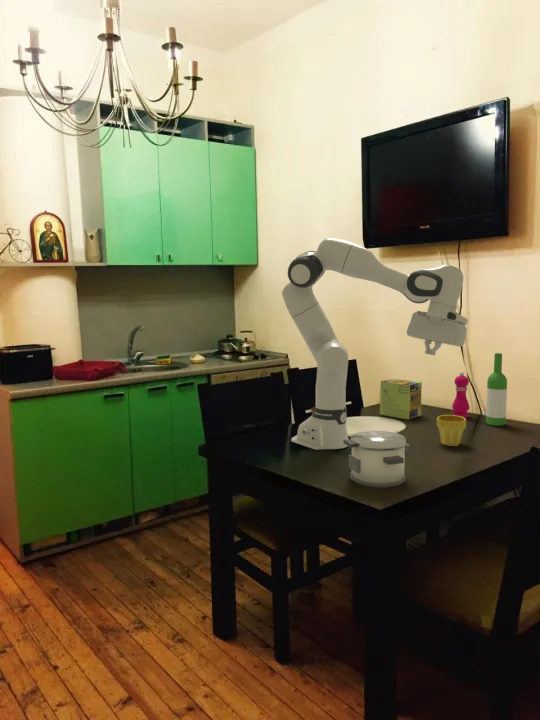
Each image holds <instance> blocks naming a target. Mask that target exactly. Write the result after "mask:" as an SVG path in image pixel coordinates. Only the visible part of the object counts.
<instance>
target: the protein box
mask: <svg viewBox="0 0 540 720" xmlns="http://www.w3.org/2000/svg"><path fill="white" fill-rule="evenodd" d="M422 383H423V382H422V381H418V380H417V381H415V380H414V381H413V380H408V379H400V378H399V379H398V378H391V379H385V380H381V381H380V392H379V393H380V396H379V397H380V398H379V400H380V401H379V402H380V403H379V415H380V416H387V417H392V418H397V419H404V420H411V419H412V420H413V419H415V418H417V417H421V416H422V386H423V385H422Z"/></svg>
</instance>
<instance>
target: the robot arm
mask: <svg viewBox="0 0 540 720" xmlns="http://www.w3.org/2000/svg"><path fill="white" fill-rule="evenodd" d="M326 271H333V272H336V273H339V274H342V275H344V276H346V277H350V278H353V279H354V278H355V279H358V280H359V279H360V280H365V281H368V282H369V281H370V282H373V283H377V284H379V285H382V286H385V287H387V288H390V289H392V290H395V291H398V292H400V293H401V294H402V295H403V296H404V297H405V298H406V299H407V300H408V301H410V302H412V303H414V304H425V303H427V302H428V301H429V305H428V308H427V311H421V310H416V311H414V312H413V313H412V315H411V318H410V322H409V324H408V327H407V329H406V335H407V336H408V337H411V338H415V339H419V340H420V339H421V340H423V341H424V342H423V343H424V346H425V351H424V353H425V355H431V356H435V355H436V353H437V351H438V350H439V349H440V348H441V346H442V344H444V345H445V344H446V345H449V346H453V347H454V346H455V347H462V346H464V344H465V343H466V339H467V334H468V333H467V331H468V329H467V324H468V323H469V319H468V318H466V317H465V316H463V315H461V313H458V312H457V307H458V305H457V304H458V301H459V298H460V297H461V294H462V289H463V284H464V273H463V271H462V270H461V269H460V268H458V267H456V266H453V265H450V264H442V265H441V266H438V267H435V268H425V269H424V268H423V269H416V270H414V271H412V272H411V273H410V274H406V273H403V272H401V271H398V270H395V269H393V268H390V267H388V266H386V265H384V264H383V263H382V262H380V261H379V260H378V258H377V257H376V255H374V253H373V252H372V251H370V250H369V249H367V248H366V247H364V246H362V245H359V244H356V243H354V242H351V241H347V240H343V239H340V238H333V237H328V238H324V239H323V240H322V241H321V242H320V243H319V245H318V246H317V249H316V250H308V251H305V252H303V253H300V254H299V255H297V256H296V258H295V259H293V260H292V261H291V262H290V263H289V266H288V268H287V278H288V280H289V282H288V283H287V284H286V285H284V288H283V289H282V291H281V295H282V298H283V301H284V304H285V307H286V309H287V311H288V313H289V315H290V317H291V319H292V321H293V322H294V324H295V325H296V327H297V329H298V331H299V332H300V335H301V337H302V339H303V340H304V342H305V343H306V345H307V348H308V349H309V351H310V353H311V355H312V357H313V358H314V360H315V362H316V364H317V366H316V381H315V382H316V383H315V406H313V407H311V408H310V409H309V412H310V413H311V412H312V413H311V416H309V417H307V419H305V420H304V421H303V422H301V423H300V424H299V425H298V428H297V434H296V435H295V436H293V437H291V439H290V440H291V441H290V442H292V443H295V444H297V445H301V446H303V447H306V448H309V449H313V450H317V451H318V450H338V449H339V450H340V449H344V448H347V447H348V446H347V445H346V444H344V443H343V440H348V439H349V436H348V430H347V419H348V417H347V415H348V412H347V411H348V410H347V409H348V408H347V406H346V405H347V404H346V399H347V397H346V395H347V394H346V393H347V392H346V390H347V389H346V387H347V378H348V367H349V352H348V350H347V349H346V347H345V346H344V345H342V343H340V341H339V339H338V337H337V335H336V333H335V331H334V329H333V327H332V325H331V323H330V320H329V318H328V317H327V315H326V314H325V311H324V310H323V308H322V306H321V305H320V302H319V301H318V299H317V298H316V296H315V294H314V291H313V286H314V285H315V284H316V283H317V282H318V281H319V280H320V279H321V278H322V277H323V276H324V275H325V272H326ZM432 342H434V346H433V348H431V346H430V345H432Z"/></svg>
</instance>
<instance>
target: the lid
mask: <svg viewBox="0 0 540 720" xmlns="http://www.w3.org/2000/svg"><path fill="white" fill-rule="evenodd" d="M406 438H407V437H405V436H404V435H402V434H400V433H396V432H394V431H386V430H385V431H384V430H366V431H365V430H364V431H359V432H355V433H353V434H352V435H351V436H350V438H348V440H343V443H344V444H346V445H347V447H349V448H352V447H359V448H363V449H368V450H395V449H399V448H402V447H404V446H405V445H406V443H407V439H406Z"/></svg>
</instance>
